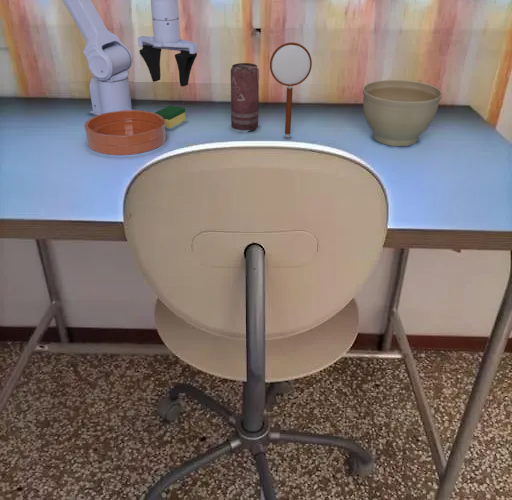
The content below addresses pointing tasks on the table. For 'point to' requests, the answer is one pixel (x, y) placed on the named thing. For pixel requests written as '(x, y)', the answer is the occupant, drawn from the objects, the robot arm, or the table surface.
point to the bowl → (125, 132)
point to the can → (244, 96)
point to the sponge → (172, 115)
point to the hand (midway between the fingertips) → (170, 83)
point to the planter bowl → (399, 110)
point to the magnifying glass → (290, 71)
